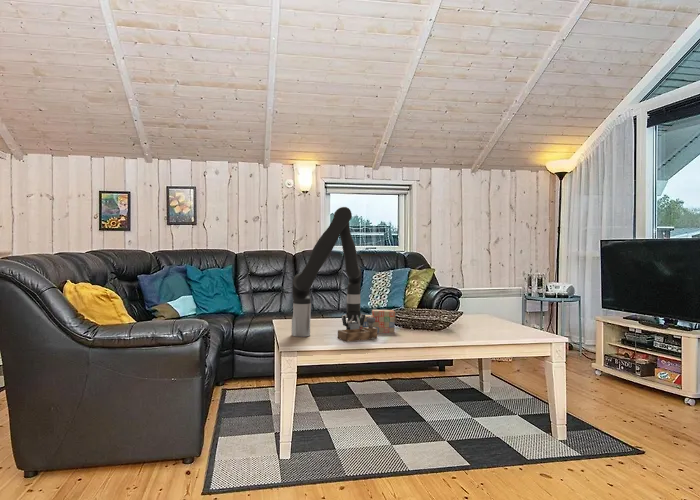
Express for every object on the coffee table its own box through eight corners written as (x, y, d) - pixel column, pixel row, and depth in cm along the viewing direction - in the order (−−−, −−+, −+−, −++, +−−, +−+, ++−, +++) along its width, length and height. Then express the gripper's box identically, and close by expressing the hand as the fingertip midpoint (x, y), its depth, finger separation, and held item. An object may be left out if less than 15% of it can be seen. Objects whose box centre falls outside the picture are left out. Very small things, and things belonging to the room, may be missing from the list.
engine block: (351, 335, 269) (351, 323, 269) (346, 334, 274) (347, 321, 274) (359, 335, 271) (359, 322, 271) (354, 333, 276) (355, 321, 276)
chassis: (346, 341, 252) (347, 325, 252) (337, 337, 262) (338, 322, 262) (379, 338, 262) (379, 323, 262) (369, 335, 271) (370, 320, 271)
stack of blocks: (357, 332, 280) (357, 310, 280) (355, 330, 286) (356, 309, 286) (394, 332, 282) (395, 311, 282) (392, 331, 288) (393, 309, 288)
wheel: (369, 322, 262) (369, 317, 262) (364, 321, 266) (365, 316, 266) (376, 322, 264) (376, 317, 264) (372, 321, 268) (372, 316, 268)
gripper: (345, 303, 266) (344, 335, 266) (368, 302, 273) (367, 333, 273) (338, 302, 272) (338, 333, 272) (361, 301, 279) (361, 331, 279)
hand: (353, 333), depth 273 cm, fingers closed on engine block, 5 cm apart
